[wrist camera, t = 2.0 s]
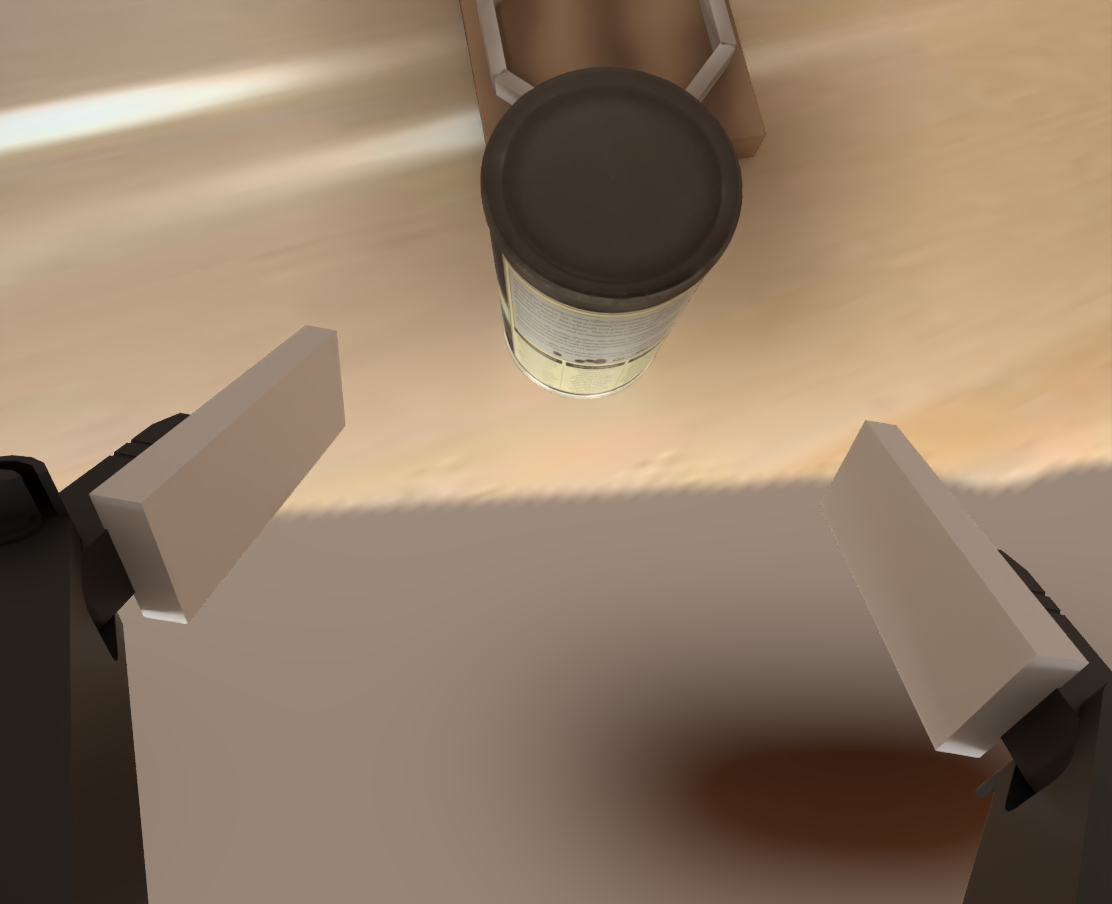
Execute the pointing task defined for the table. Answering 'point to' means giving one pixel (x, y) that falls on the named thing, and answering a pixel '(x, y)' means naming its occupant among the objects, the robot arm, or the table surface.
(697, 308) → the table surface
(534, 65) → the collar board
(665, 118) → the coffee can
